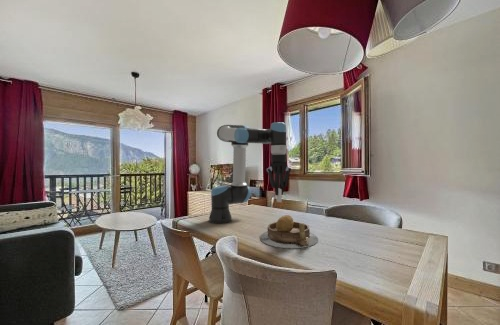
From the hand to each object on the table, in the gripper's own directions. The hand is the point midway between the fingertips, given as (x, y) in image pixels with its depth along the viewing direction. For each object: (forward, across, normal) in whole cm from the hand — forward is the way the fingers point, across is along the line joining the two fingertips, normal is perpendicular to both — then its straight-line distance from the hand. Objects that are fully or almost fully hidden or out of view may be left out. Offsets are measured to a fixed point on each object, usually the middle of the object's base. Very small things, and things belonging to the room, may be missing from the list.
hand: (279, 201), depth 114 cm
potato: (+13, +5, -5) cm, 15 cm away
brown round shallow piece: (+18, +6, -1) cm, 19 cm away
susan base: (+19, +6, +1) cm, 20 cm away
